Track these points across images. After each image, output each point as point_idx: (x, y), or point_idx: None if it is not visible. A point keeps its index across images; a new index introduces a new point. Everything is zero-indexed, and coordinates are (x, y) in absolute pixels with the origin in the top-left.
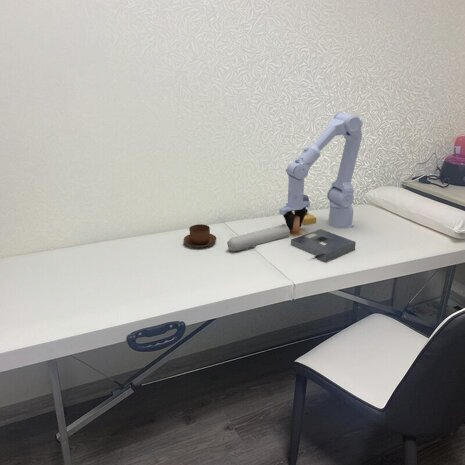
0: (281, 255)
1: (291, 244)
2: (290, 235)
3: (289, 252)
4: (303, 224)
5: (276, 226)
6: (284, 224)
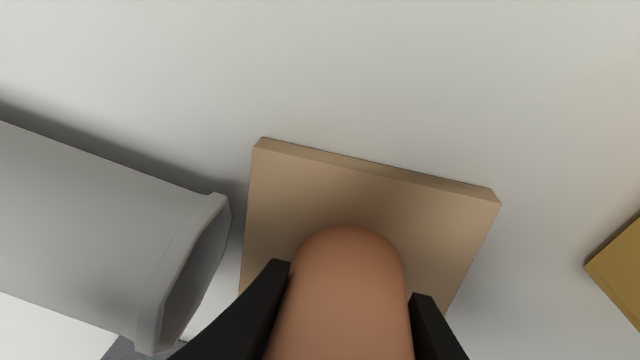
0: (8, 327)
1: (110, 352)
2: (243, 283)
3: (73, 344)
4: (611, 275)
5: (38, 257)
6: (153, 321)
